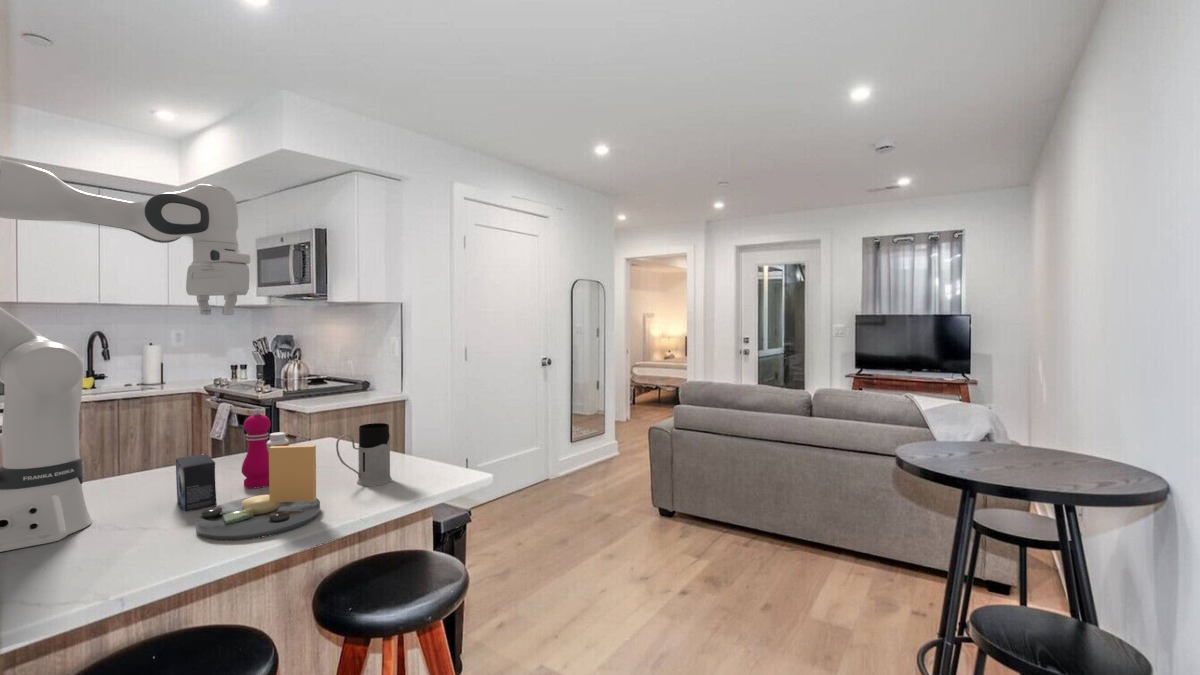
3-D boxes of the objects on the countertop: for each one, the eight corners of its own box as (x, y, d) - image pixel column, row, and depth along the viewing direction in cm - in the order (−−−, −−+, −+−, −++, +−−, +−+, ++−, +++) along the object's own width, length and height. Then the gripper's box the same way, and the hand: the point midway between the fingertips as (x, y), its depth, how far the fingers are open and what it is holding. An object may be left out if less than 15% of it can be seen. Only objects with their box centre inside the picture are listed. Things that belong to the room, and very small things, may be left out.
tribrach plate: (221, 550, 106) (221, 529, 106) (179, 522, 120) (179, 503, 120) (339, 516, 124) (339, 498, 124) (291, 495, 138) (291, 479, 138)
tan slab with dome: (235, 515, 118) (234, 451, 117) (250, 504, 125) (249, 444, 124) (309, 511, 120) (309, 449, 120) (320, 501, 127) (319, 442, 127)
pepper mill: (263, 489, 143) (262, 411, 142) (235, 488, 143) (233, 410, 142) (280, 481, 150) (279, 406, 149) (253, 480, 150) (252, 406, 149)
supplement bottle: (293, 466, 164) (293, 431, 164) (280, 471, 158) (280, 435, 158) (275, 465, 164) (275, 431, 164) (262, 471, 159) (261, 435, 159)
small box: (174, 501, 133) (173, 457, 133) (207, 495, 138) (207, 452, 137) (183, 512, 126) (182, 466, 125) (217, 505, 130) (216, 461, 130)
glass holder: (397, 481, 151) (397, 425, 150) (343, 493, 140) (343, 433, 140) (382, 474, 157) (382, 421, 156) (330, 485, 146) (329, 428, 146)
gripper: (177, 256, 134) (178, 314, 134) (225, 252, 124) (226, 315, 125) (206, 259, 139) (207, 314, 140) (254, 255, 130) (255, 315, 130)
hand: (216, 315), depth 132 cm, fingers open, 8 cm apart
